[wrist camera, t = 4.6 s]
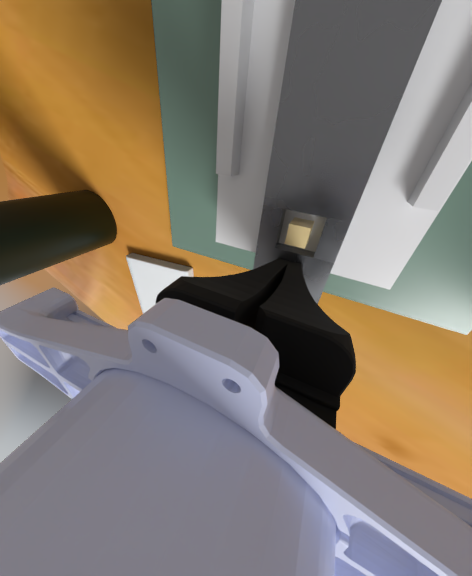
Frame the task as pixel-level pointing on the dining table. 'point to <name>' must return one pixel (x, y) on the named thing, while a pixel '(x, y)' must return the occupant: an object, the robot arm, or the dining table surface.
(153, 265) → the external hard drive
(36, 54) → the dining table surface
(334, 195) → the strap
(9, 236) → the wine bottle
